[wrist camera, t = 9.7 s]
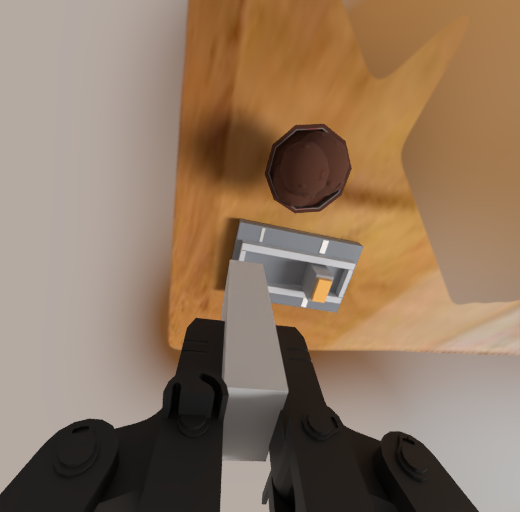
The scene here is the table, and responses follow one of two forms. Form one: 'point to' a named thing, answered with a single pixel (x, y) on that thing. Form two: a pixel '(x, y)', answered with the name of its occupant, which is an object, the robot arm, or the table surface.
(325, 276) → the fader tab
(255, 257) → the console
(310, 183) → the ice cream bowl
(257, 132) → the table surface
